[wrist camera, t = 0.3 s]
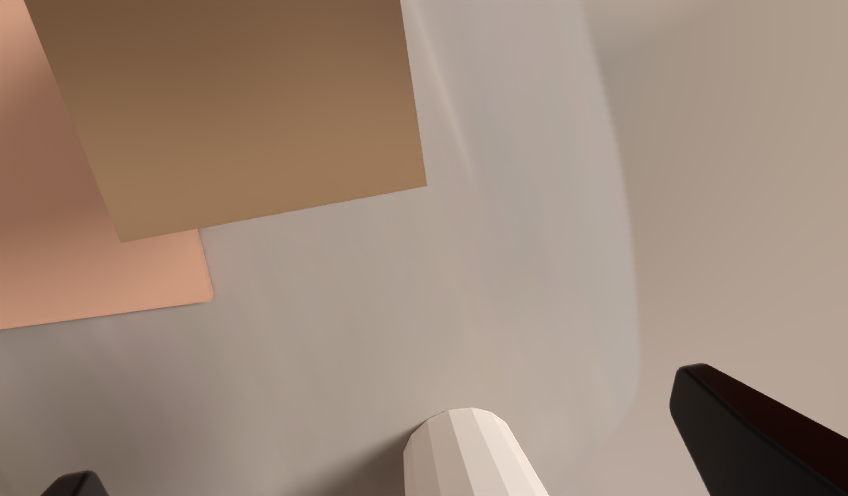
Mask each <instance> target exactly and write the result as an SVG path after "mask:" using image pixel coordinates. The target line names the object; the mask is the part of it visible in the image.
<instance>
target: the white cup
mask: <svg viewBox="0 0 848 496" xmlns="http://www.w3.org/2000/svg"><path fill="white" fill-rule="evenodd" d="M403 459H404V481H405V496H549V495H548V493H547V492H546V490H545V488H544V487H543V485H542V483H541V482H540V480H539V478H538V476H537V475H536V473H535V471H534V470H533V468H532V466H531V465H530V463H529V461H528V459H527V458H526V456H525V454H524V453H523V451H522V449H521V448H520V446H519V444H518V442H517V441H516V439H515V437H514V436H513V434H512V432H511V431H510V429H509V427H508V425H507V424H506V422H504V421H503V420H501V419H500V418H499V417H497V416H496V415H495V414H493V413H492V412H489V411H485V410H481V409H476V408H472V407H469V408H460V409H452V410H447V411H445V412H443V413H440V414H438V415H436V416H434V417H432V418H430V419H427V420H426V421H425V422H424V423H423V424H422V425H421V426H420V427H419V428H418V429H417V430H416V431H415V432H413V433H412V434H411V436H410V438H409V441H408V443H407V445H406V447H405V449H404V452H403Z"/></svg>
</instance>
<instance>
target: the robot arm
mask: <svg viewBox="0 0 848 496" xmlns="http://www.w3.org/2000/svg"><path fill="white" fill-rule="evenodd" d="M670 412H671V416H672V418H673V420H674V422H675V424H676V426H677V428H678V430H679V433H680V434H681V437H682V439H683V441H684V443H685V445H686V447H687V449H688V451H689V453H690V455H691V457H692V459H693V461H694V463H695V465H696V467H697V470H698V472H699V474H700V476H701V478H702V480H703V482H704V484H705V486H706V488H707V490H708V492H709V494H710V496H848V438H846V437H844V436H842V435H840V434H838V433H836V432H834V431H832V430H831V429H829V428H827V427H825V426H823V425H821V424H819V423H817V422H815V421H814V420H811V419H810V418H808V417H806V416H804V415H802V414H800V413H798V412H797V411H795V410H793V409H791V408H789V407H787V406H785V405H783V404H781V403H780V402H778V401H776V400H774V399H772V398H770V397H768V396H766V395H764V394H763V393H761V392H759V391H757V390H755V389H753V388H751V387H749V386H747V385H746V384H744V383H742V382H740V381H738V380H736V379H734V378H732V377H730V376H729V375H727V374H725V373H723V372H721V371H719V370H717V369H715V368H713V367H712V366H709V365H707V364H703V363H699V364H693V365H687V366H682V367H680V368H679V369H678V370H677V372H676V375H675V380H674V384H673V389H672V393H671V398H670ZM40 496H109V495H108V493H107V491H106V490H105V488H104V486H103V484H102V482H101V481H100V479H99V477H98V475H97V474H96V473H95V472H93V471H88V470H87V471H82V472H76V473H70V474H65V475H63V476H61V477H59V478H58V479H57V480H55V481H54V482H53V483H52V484H51V485H50V486H49V487H48V488H47V489H46V490H45V491H44V492H43V493H42V494H41V495H40Z"/></svg>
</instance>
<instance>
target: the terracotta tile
mask: <svg viewBox="0 0 848 496" xmlns="http://www.w3.org/2000/svg"><path fill="white" fill-rule="evenodd" d="M213 296H214V291H213V287H212V283H211V279H210V275H209V271H208V267H207V263H206V259H205V256H204V252H203V248H202V244H201V240H200V236H199V232H198V229H193V230H188V231H183V232H177V233H172V234H167V235H161V236H156V237H150V238H145V239H140V240H134V241H129V242H124V243H121V242H120V240H119V237H118V235H117V232H116V230H115V227H114V225H113V222H112V220H111V217H110V215H109V212H108V210H107V207H106V205H105V202H104V200H103V197H102V195H101V192H100V190H99V187H98V185H97V182H96V180H95V177H94V175H93V172H92V170H91V167H90V165H89V162H88V160H87V157H86V155H85V152H84V150H83V147H82V145H81V142H80V140H79V137H78V135H77V132H76V130H75V127H74V125H73V122H72V120H71V117H70V115H69V112H68V110H67V107H66V105H65V102H64V100H63V97H62V95H61V92H60V90H59V87H58V85H57V82H56V80H55V77H54V75H53V72H52V70H51V67H50V65H49V62H48V60H47V57H46V55H45V52H44V50H43V47H42V45H41V42H40V40H39V37H38V35H37V32H36V30H35V27H34V25H33V22H32V20H31V17H30V15H29V12H28V10H27V7H26V5H25V2H24V0H0V330H1V329H8V328H16V327H23V326H30V325H38V324H45V323H52V322H60V321H67V320H74V319H82V318H89V317H97V316H104V315H111V314H119V313H126V312H133V311H141V310H148V309H155V308H163V307H170V306H177V305H185V304H192V303H199V302H207V301H212V298H213Z"/></svg>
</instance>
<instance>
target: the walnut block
mask: <svg viewBox="0 0 848 496" xmlns="http://www.w3.org/2000/svg"><path fill="white" fill-rule="evenodd" d="M24 2H25V5H26V7H27V10H28V12H29V15H30V17H31V20H32V22H33V25H34V27H35V30H36V32H37V35H38V37H39V40H40V42H41V45H42V47H43V50H44V52H45V55H46V57H47V60H48V62H49V65H50V67H51V70H52V72H53V75H54V77H55V80H56V82H57V85H58V87H59V90H60V92H61V95H62V97H63V100H64V102H65V105H66V107H67V110H68V112H69V115H70V117H71V120H72V122H73V125H74V127H75V130H76V132H77V135H78V137H79V140H80V142H81V145H82V147H83V150H84V152H85V155H86V157H87V160H88V162H89V165H90V167H91V170H92V172H93V175H94V177H95V180H96V182H97V185H98V187H99V190H100V192H101V195H102V197H103V200H104V202H105V205H106V207H107V210H108V212H109V215H110V217H111V220H112V222H113V225H114V227H115V230H116V232H117V235H118V237H119V240H120V242H121V243H124V242H129V241H134V240H140V239H145V238H150V237H156V236H161V235H167V234H172V233H177V232H183V231H188V230H193V229H199V228H204V227H209V226H215V225H220V224H225V223H231V222H236V221H242V220H247V219H252V218H258V217H263V216H268V215H274V214H279V213H284V212H290V211H295V210H301V209H306V208H311V207H317V206H322V205H327V204H333V203H338V202H343V201H349V200H354V199H359V198H365V197H370V196H376V195H381V194H386V193H392V192H397V191H402V190H408V189H413V188H418V187H424V186H427V182H426V175H425V168H424V162H423V155H422V148H421V141H420V134H419V127H418V120H417V114H416V107H415V100H414V93H413V86H412V79H411V73H410V66H409V59H408V52H407V45H406V38H405V31H404V25H403V18H402V11H401V4H400V0H24Z"/></svg>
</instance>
